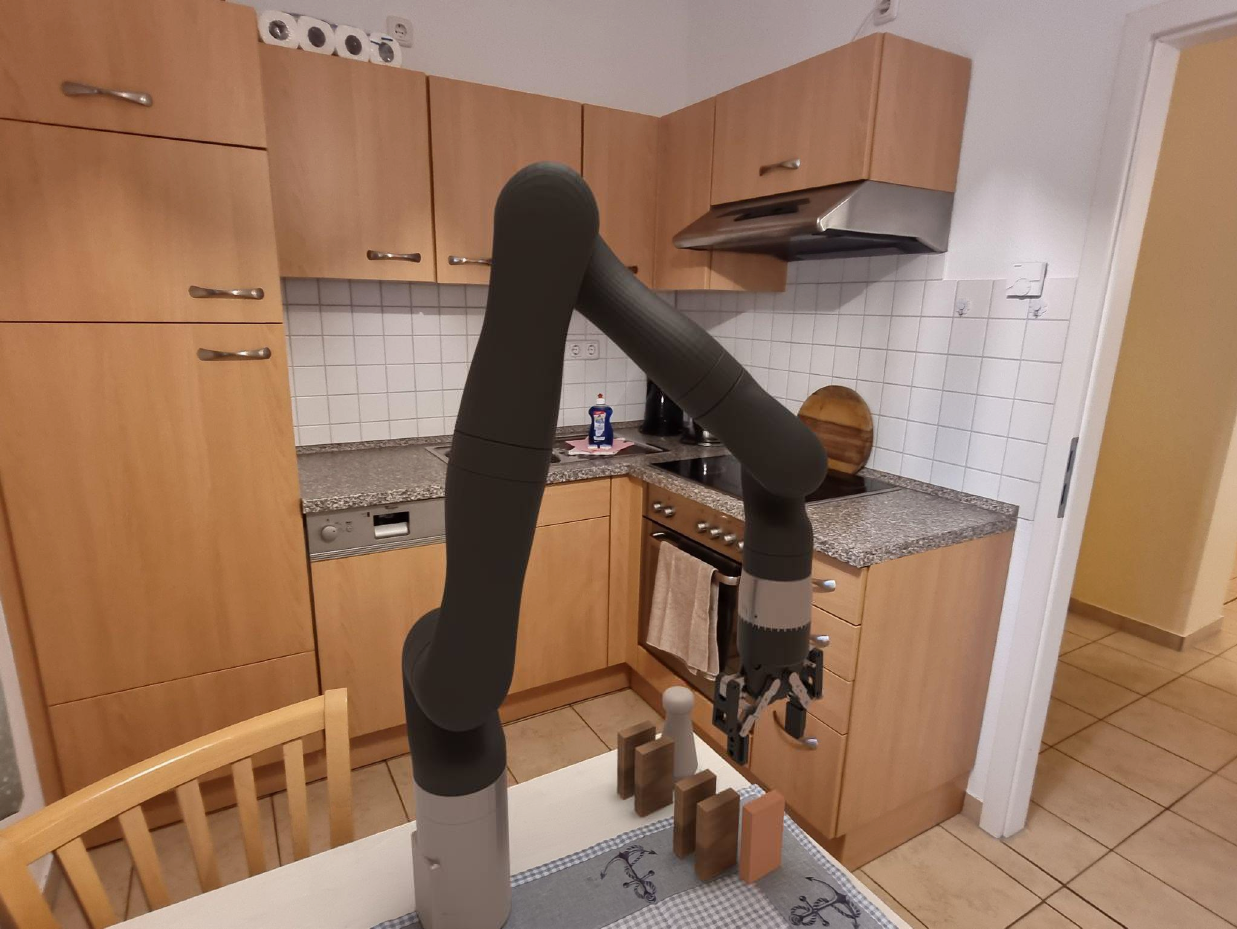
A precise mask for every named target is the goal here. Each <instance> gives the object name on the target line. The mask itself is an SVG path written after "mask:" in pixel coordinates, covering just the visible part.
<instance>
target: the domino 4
mask: <svg viewBox="0 0 1237 929" xmlns="http://www.w3.org/2000/svg"><path fill="white" fill-rule="evenodd" d="M740 808H741V795H740V794H739V793H738V792H737V791H736V790H735V789H733V787H731V786H730V787H728V788H726V789H724V790H722V791H720V792H718V793H716V795H714V796H712V797H709V798H707V799H705V800H703V801H701V802H699V803H697V816H696V845H695V852H694V853H695V854H694V874H695V875H696V876H697V877H698V878H699V879H700V880H701V881H702V882H703V883H705V882H707V881H709V880H710V879H712V878H714V877H715V876H717V875H719V874H721V873H723V872H724V871H726V870H727V869H731V867H733V866H734V865H737V864H738V852H739V850H738V846H739V829H740V828H739V826H740V811H741V810H740Z"/></svg>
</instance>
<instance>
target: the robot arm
mask: <svg viewBox="0 0 1237 929" xmlns="http://www.w3.org/2000/svg"><path fill="white" fill-rule="evenodd" d="M493 212H494V213H493V233H492V234H493V235H492V248H491V262H490V272H489V282H488V291H487V298H486V305H485V306H486V307H485V312H484V317H483V322H482V326H481V330H480V333H479V337H478V340H477V344H476V347H475V350H474V352H473V356H472V360H471V362H470V365H469V369H468V372H467V376H466V379H465V380H466V381H465V383H464V387H463V392H462V394H461V400H460V404H459V408H458V411H457V416H456V420H455V423H454V429H453V433H452V438H451V445H450V449H449V454H448V461H447V465H446V473H445V479H444V504H443V506H444V532H445V533H444V534H445V535H444V537H445V555H446V556H445V557H446V559H445V560H446V563H445V564H446V566H445V579H444V588H443V595H442V598H441V603H440V606H439V607H436V608H433V609H431V610H429V611H428V612H426V613H425V614H424V615H422V616H420V617H419V619H417V621H416V622H414V624H413V625H412V627H411V628H410V630H409V631H408V633H407V634H406V637H405V639H404V642H403V646H402V652H401V675H402V676H401V677H402V688H403V689H402V691H403V701H404V703H403V704H404V711H405V712H404V713H405V714H404V715H405V726H406V735H407V740H408V746H409V751H410V752H409V753H410V758H411V764H412V777H413V778H412V779H413V792H414V796H413V797H414V811H415V825H416V826H415V827H416V830H414V831H413V832H411V834H410V840H411V855H412V857H411V859H412V870H413V885H414V886H413V887H414V890H413V891H414V904H415V911H416V914H417V916H418V919H419V921H420V923H421V925H422V928H423V929H502V927H503V926H504V925H505V923H506V922H507V920H508V919H509V915H510V913H511V906H512V894H511V893H512V883H511V860H510V859H511V858H510V857H511V856H510V831H509V830H510V829H509V827H510V826H509V825H510V824H509V797H508V793H509V792H508V766H507V764H508V763H507V762H508V760H507V759H508V755H507V752H508V751H507V740H506V735H505V730H504V727H503V724H502V720H501V716H500V712H499V709H500V707H502V705H503V703H504V701H505V699H506V698H507V696H508V694H509V691H510V688H511V685H512V683H513V677H514V672H515V664H516V654H517V643H518V630H519V622H520V611H521V603H522V602H521V601H522V598H523V597H522V596H523V590H524V584H525V578H526V574H527V570H528V566H529V561H530V556H531V552H532V547H533V543H534V540H535V533H536V530H537V523H538V521H539V514H540V509H541V506H542V503H543V502H542V501H543V497H544V493H545V489H546V485H547V481H548V476H549V470H550V467H551V463H552V462H551V461H552V456H553V451H554V447H555V442H556V441H555V440H556V437H557V430H558V429H557V428H558V421H559V415H560V407H561V398H562V391H563V390H562V389H563V376H564V364H565V363H564V362H565V353H566V344H567V340H568V339H567V338H568V334H569V329H570V324H571V320H572V316H573V313H574V310H575V311H576V312H578V313H579V314H581V316H583V317H584V318H586V320H588V321H589V322H590V323H591V324H593V326H595V327H596V328H597V329H598V330H600V332H602V333H603V334H604V335H605V336H606V337H608V339H610V340H611V341H612V343H614V344H615V345H616V346H617V347H618V348H619V349H620V350H621V351H622V352H623V353H624V354H625V355H626V356H627V357H628V358H629V359H630V360H631V361H632V362H633V363H634V364H635V365H636V366H637V367H638V368H639V369H640V370H641V371H642V372H643V373H644V374H645V375H646V376H647V377H648V378H649V379H650V380H651V381H652V382H653V383H654V384H655V385H656V386H657V387H658V388H659V389H660V390H661V391H662V392H663V393H664V394H666V396H667V397H668V398H669V399H670V400H671V401H673V402H674V404H676V406H677V407H679V408H680V409H681V411H683V413H685V414H686V415H687V416H688V417H689V418H690V419H692V421H693V422H695V423H696V424H697V425H699V427H701V428H702V429H703V430H705V432H706V433H709V434H710V435H711V436H713V437H714V438H715V439H717V440H718V441H719V442H720V443H721V444H722V446H724V448H726V449H727V450H728V452H729V453H730V454H731V455H732V456H733V457H734V458H735V459H736V460H737V461H738V462H739V464H740V466H739V467H740V482H741V483H740V484H741V495H742V497H741V498H742V505H743V512H744V514H743V515H744V533H743V544H742V561H741V562H742V563H741V566H742V568H741V574H740V581H739V586H738V603H737V607H738V608H737V624H736V625H737V627H736V648H737V651H738V653H739V656H740V660H741V662H740V666H739V668H738V670H737V673H734V674H731V675H727V674H726V673H724V672H722V671H720V672H718V674H716V676H715V681H714V683H715V684H714V693H713V694H714V695H713V705H712V706H713V707H712V715H711V717H712V718H711V719H712V720H711V724H712V725H713V726H714V727H715V728H717V729H718V730H720V731H721V732H722V733H723V734H724V735H726V736H727V738H726V754H727V757H729V758H730V759H731V760H732V762H733V761H734V763H736V764H737V765H738V766H739V767H744V766H746V765H748V763H749V750H750V749H749V748H750V747H749V746H750V734H749V732H750V730H751V729H752V727H753V724H754V723H755V721H756V720H757V719H760V718H761V717H762V716H763V715H764V712H765V710H766V709H767V707H768V706H770V705H772V704H773V703H775V702H776V701H780V700H781V701H782V700H785V699H786V698H788V699H789V700H788V701H786V703H785V716H784V717H785V719H784V730H785V732H786V734H787V735H789V736H791V737H792V738H793V739H795V740H797V741H798V740H800V739H802V738H804V736H805V729H806V726H807V714H808V713H807V712H808V711H807V710H808V708H810V706H811V704H812V700H813V699H814V698H815V699H820V698H821V696H822V695H823V686H824V685H823V684H824V683H823V682H824V681H823V680H824V651H823V650H822V649H820V648H818V647H817V646H815V645H812V644H811V627H812V614H813V600H814V599H813V598H814V597H813V596H814V592H813V580H812V577H813V574H812V573H813V571H812V570H813V556H814V555H813V554H814V546H815V545H814V539H815V537H814V528H813V525H812V522H811V519H810V517H809V516H808V513H807V510H806V509H807V508H806V496H809V495H810V494H811V493H814V492H815V491H816V490H817V489H818V488H819V487H820V486H821V485H822V483H824V480H825V479H826V476H827V474H828V469H829V457H828V452H827V450H826V447H825V445H824V443H823V441H822V440H821V439H820V438H819V436H818V435H817V433H816V432H814V431H813V429H811V427H809V426H808V425H807V424H806V423H805V422H804V421H802V420H801V419H800V418H799V417H798V416H797V415H795V414H794V412H792V411H791V410H789V408H787V407H786V406H785V405H783V404H782V403H781V402H780V401H778V399H777V398H775V397H774V396H772V395H771V394H770V393H769V392H767V391H766V390H765V389H764V388H763V387H762V386H761V385H760V384H759V383H758V381H757V380H756V379H755V378H754V377H753V376H752V374H750V372H749V371H748V370H747V369H746V368H745V367H744V366H743V365H742V364H741V363H740V362H739V361H738V360H737V359H736V358H735V357H734V356H733V355H732V354H731V353H730V352H729V351H728V350H727V349H726V348H725V347H724V346H723V345H722V344H721V343H720V342H718V341H717V339H715V338H714V337H713V336H712V335H711V334H710V333H709V332H708V331H706V330H705V329H704V328H703V327H701V326H700V325H699V324H698V323H697V322H695V321H694V320H693V319H691V318H690V317H689V316H687V315H686V314H685V313H684V312H682V311H680V310H679V309H678V308H676V307H675V306H674V305H673V304H672V305H671V304H670V303H669V302H668V301H666V300H665V299H663V298H662V297H661V296H660V295H658V294H657V293H656V292H654V290H652V289H651V288H649V287H648V286H647V285H646V284H645V283H644V282H642V281H641V280H640V279H639V278H638V277H637V276H636V275H635V274H634V273H633V272H632V271H631V270H630V269H629V268H628V267H627V265H625V264H624V263H623V262H622V261H621V260H620V259H619V257H618V256H617V255H616V254H615V252H614V251H613V250H612V249H611V248H610V246H609V245H608V244H607V242H606V241H605V239H604V238H603V237H602V235H601V234H600V228H601V226H600V224H601V221H600V210H599V207H598V203H597V200H596V197H595V195H594V192H593V191H592V189H591V188H590V186H589V184H588V183H587V181H586V180H585V179H584V178H583V177H582V175H581V174H580V173H579V172H577V171H576V170H575V169H573V168H572V167H571V166H568V165H567V164H565V163H563V162H558V161H553V160H545V161H544V160H542V161H537V162H534V163H531V164H528V165H526V166H524V167H523V168H521V169H520V170H518V171H517V172H516V173H515V174H514V175H513V176H512V177H510V178H509V179H508V181H507V182H506V183H505V184H504V186H503V187H502V188H501V190H500V192H499V194H498V197H497V199H496V202H495V205H494V211H493ZM810 679H811V682H810ZM747 695H748V697H750V698H751V700H753V701H755V703H754V704H753V705H751V704H749V703H748V702H746V697H747ZM743 710H744V712H745V715H744V716H743V718H742V719H741V720H742V721H741V720H739V717H740V715H741V713H742V711H743Z"/></svg>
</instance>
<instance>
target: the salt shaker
mask: <svg viewBox="0 0 1237 929" xmlns="http://www.w3.org/2000/svg"><path fill="white" fill-rule="evenodd" d="M695 704H696V702H695V696H694V693H693V692H692V691H691V689H689V688H687V687H685V686H680V685H676V686H675V685H674V686H671V687H668V688H666V689H665V690H664V691H663V693H662V707H663V709H664V710H665V711H666V714H665V718H664V723H663V726H662V730H661V734H660V738H661V737H663V736H666V735H668V736H669V737H670V738H671V739H672V740H674V741H675V747H674V785H673V788H675V783H677V782H679V781H681V780H684V779H686V778H688V777H690V776H692V775H695V774H696V772H697V770H698V766H699V764H698V763H699V762H698V756H697V751H696V750H697V749H696V742H695V737H694V730H693V720H692V717H691V716H692V715H691V713H692V711H693V710H694V708H695V706H696V705H695Z"/></svg>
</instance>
